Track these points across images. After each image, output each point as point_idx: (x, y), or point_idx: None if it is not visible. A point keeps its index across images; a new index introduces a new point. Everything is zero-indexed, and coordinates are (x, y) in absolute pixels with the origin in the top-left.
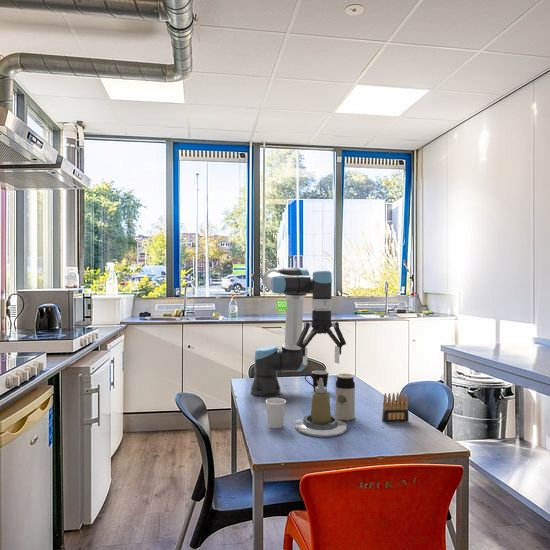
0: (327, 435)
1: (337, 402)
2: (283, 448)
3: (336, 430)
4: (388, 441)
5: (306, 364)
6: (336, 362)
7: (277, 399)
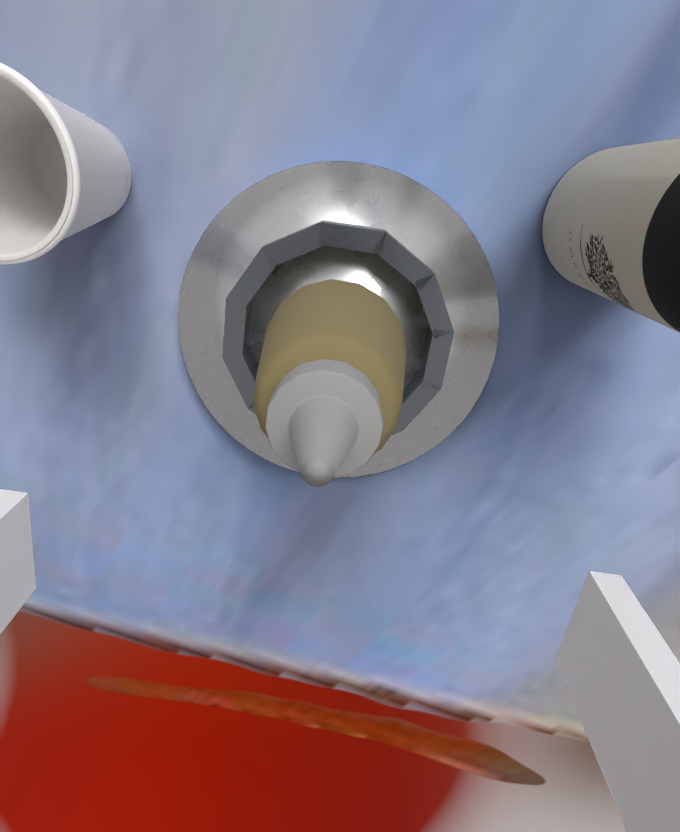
0: None
1: (583, 234)
2: (36, 492)
3: None
4: (529, 605)
5: (16, 594)
6: (569, 637)
7: (21, 88)
